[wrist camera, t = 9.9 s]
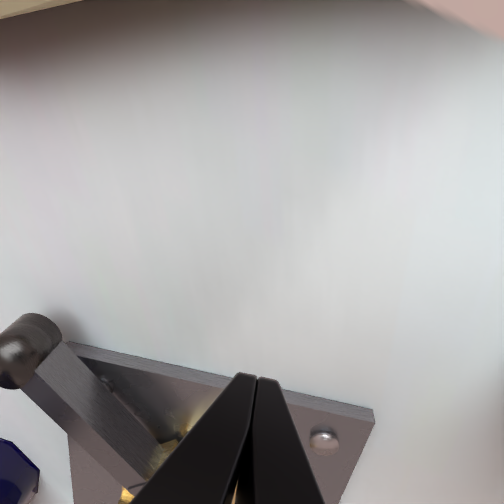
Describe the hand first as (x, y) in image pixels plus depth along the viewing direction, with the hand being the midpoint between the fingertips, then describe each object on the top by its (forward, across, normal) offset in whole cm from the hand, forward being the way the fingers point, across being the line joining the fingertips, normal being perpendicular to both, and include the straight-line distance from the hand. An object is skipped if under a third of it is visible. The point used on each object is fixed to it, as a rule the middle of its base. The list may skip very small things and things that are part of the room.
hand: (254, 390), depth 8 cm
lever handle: (+11, +6, +17) cm, 21 cm away
